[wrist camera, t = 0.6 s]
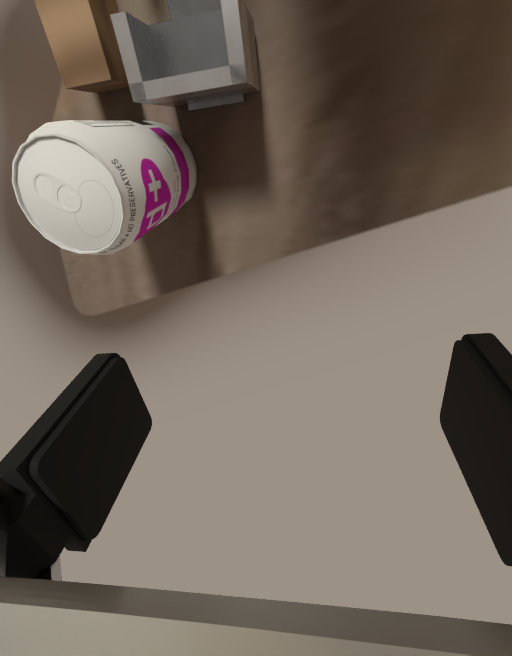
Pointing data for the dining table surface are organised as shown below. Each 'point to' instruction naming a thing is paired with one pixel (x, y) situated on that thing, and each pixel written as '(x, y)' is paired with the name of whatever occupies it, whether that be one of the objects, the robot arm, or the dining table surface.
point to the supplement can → (101, 181)
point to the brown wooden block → (84, 43)
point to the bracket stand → (190, 54)
